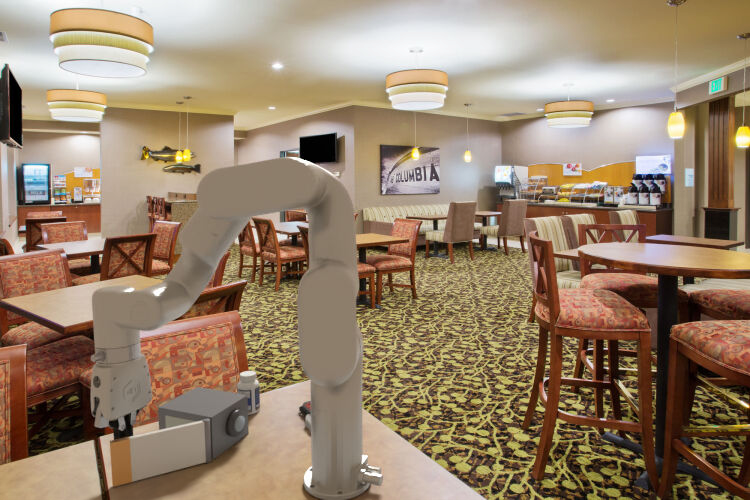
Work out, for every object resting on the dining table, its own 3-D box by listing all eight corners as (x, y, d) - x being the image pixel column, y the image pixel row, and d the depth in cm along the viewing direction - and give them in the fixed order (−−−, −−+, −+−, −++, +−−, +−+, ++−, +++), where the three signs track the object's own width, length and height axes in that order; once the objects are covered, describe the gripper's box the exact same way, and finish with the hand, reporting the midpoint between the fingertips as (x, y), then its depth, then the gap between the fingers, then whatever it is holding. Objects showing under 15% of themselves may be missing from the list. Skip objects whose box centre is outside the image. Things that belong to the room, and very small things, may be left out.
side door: (210, 458, 100) (209, 417, 99) (212, 461, 98) (210, 420, 97) (112, 484, 91) (109, 440, 90) (112, 487, 89) (109, 443, 89)
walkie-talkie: (291, 415, 121) (327, 450, 104) (290, 398, 120) (326, 430, 104) (323, 407, 125) (362, 439, 109) (323, 390, 125) (362, 420, 108)
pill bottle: (253, 404, 126) (252, 368, 125) (264, 411, 122) (263, 373, 121) (234, 410, 122) (232, 373, 121) (244, 417, 119) (243, 379, 118)
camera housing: (254, 434, 110) (253, 396, 109) (219, 461, 99) (218, 418, 98) (198, 423, 116) (197, 386, 115) (159, 447, 104) (157, 407, 103)
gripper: (96, 368, 83) (103, 470, 85) (164, 343, 96) (169, 432, 98) (66, 362, 85) (73, 462, 87) (136, 339, 99) (141, 426, 101)
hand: (124, 446), depth 93 cm, fingers closed
